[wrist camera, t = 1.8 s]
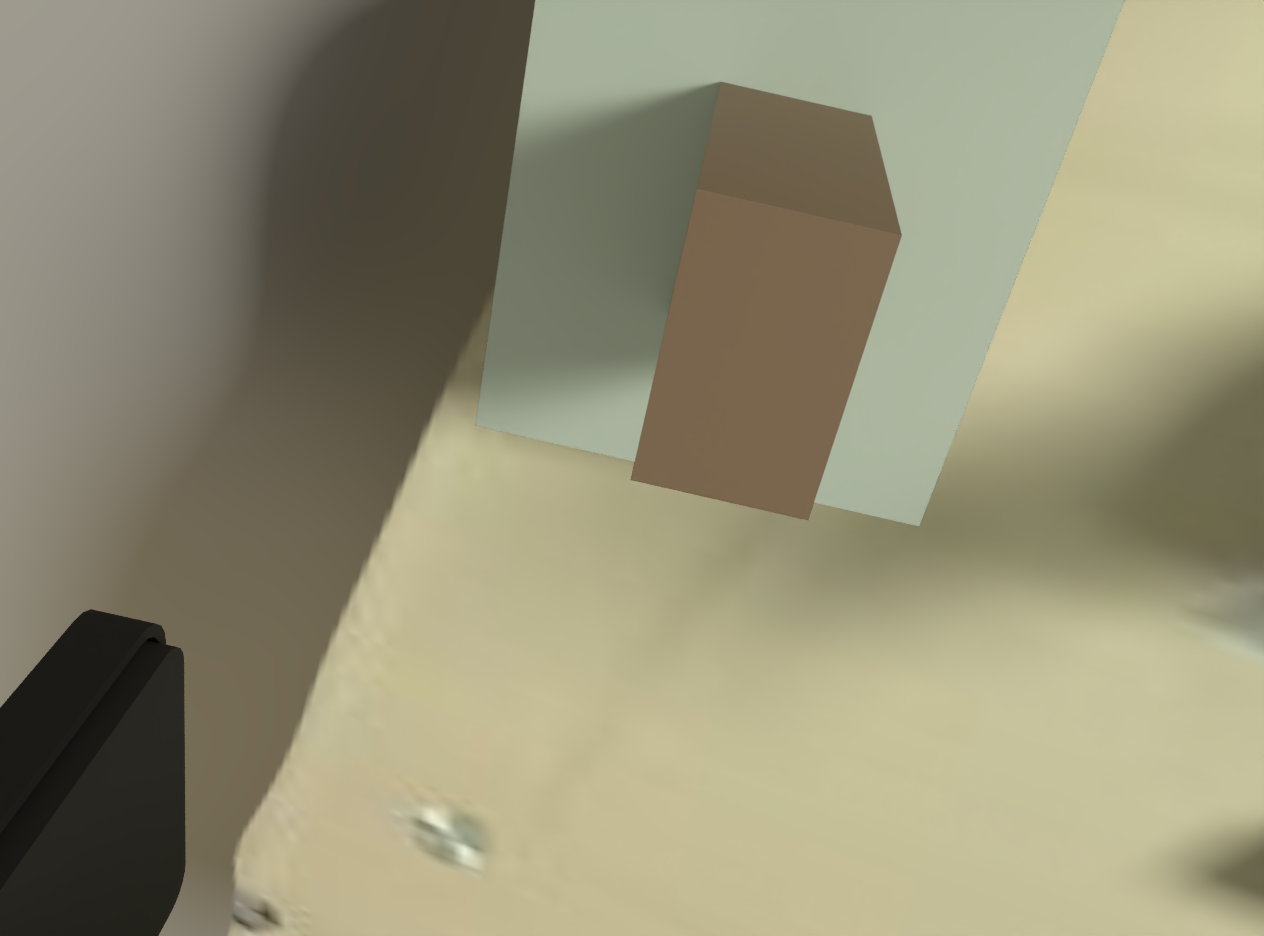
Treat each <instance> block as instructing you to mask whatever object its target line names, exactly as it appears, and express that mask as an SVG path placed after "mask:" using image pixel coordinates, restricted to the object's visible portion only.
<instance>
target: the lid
mask: <svg viewBox="0 0 1264 936" xmlns="http://www.w3.org/2000/svg"><path fill="white" fill-rule="evenodd" d="M1124 1H1125V0H535V7H534V13H533V20H532V28H531V35H530V42H529V49H528V56H527V63H526V70H525V77H524V84H523V91H522V98H521V106H520V113H519V120H518V127H517V135H516V142H515V148H514V155H513V163H512V169H511V177H510V184H509V191H508V198H507V205H506V212H505V220H504V226H503V233H502V240H501V247H500V255H499V262H498V269H497V276H496V283H495V290H494V297H493V304H492V311H491V318H490V325H489V333H488V340H487V347H486V354H485V361H484V368H483V375H482V382H481V389H480V396H479V403H478V411H477V418H476V425H475V426H479V427H483V428H488V429H492V430H497V431H501V432H505V433H510V434H514V435H519V436H523V437H527V438H532V439H536V440H541V441H545V442H549V443H554V444H558V445H563V446H567V447H571V448H576V449H580V450H585V451H589V452H593V453H598V454H602V455H607V456H611V457H615V458H620V459H624V460H629V461H633V462H634V467H633V471H632V476H631V480H633V481H638V482H642V483H647V484H651V485H655V486H660V487H664V488H669V489H673V490H677V491H682V492H686V493H691V494H695V495H699V496H704V497H708V498H713V499H717V500H721V501H726V502H730V503H735V504H739V505H743V506H748V507H752V508H757V509H761V510H765V511H770V512H774V513H779V514H783V515H787V516H792V517H796V518H801V519H805V520H808V519H809V516H810V513H811V510H812V507H813V504H814V503H818V504H822V505H827V506H831V507H836V508H840V509H844V510H849V511H853V512H858V513H862V514H866V515H871V516H875V517H880V518H884V519H888V520H893V521H897V522H902V523H906V524H910V525H915V526H920V523H921V520H922V518H923V515H924V513H925V510H926V508H927V505H928V503H929V500H930V497H931V495H932V492H933V490H934V487H935V485H936V482H937V480H938V477H939V474H940V472H941V469H942V467H943V464H944V462H945V459H946V456H947V454H948V451H949V449H950V446H951V444H952V441H953V439H954V436H955V433H956V431H957V428H958V426H959V423H960V421H961V418H962V416H963V413H964V410H965V408H966V405H967V403H968V400H969V398H970V395H971V393H972V390H973V387H974V385H975V382H976V380H977V377H978V375H979V372H980V369H981V367H982V364H983V362H984V359H985V357H986V354H987V352H988V349H989V346H990V344H991V341H992V339H993V336H994V334H995V331H996V329H997V326H998V323H999V321H1000V318H1001V316H1002V313H1003V311H1004V308H1005V305H1006V303H1007V300H1008V298H1009V295H1010V293H1011V290H1012V288H1013V285H1014V282H1015V280H1016V277H1017V275H1018V272H1019V270H1020V267H1021V265H1022V262H1023V259H1024V257H1025V254H1026V252H1027V249H1028V247H1029V244H1030V241H1031V239H1032V236H1033V234H1034V231H1035V229H1036V226H1037V224H1038V221H1039V218H1040V216H1041V213H1042V211H1043V208H1044V206H1045V203H1046V201H1047V198H1048V195H1049V193H1050V190H1051V188H1052V185H1053V183H1054V180H1055V177H1056V175H1057V172H1058V170H1059V167H1060V165H1061V162H1062V160H1063V157H1064V154H1065V152H1066V149H1067V147H1068V144H1069V142H1070V139H1071V137H1072V134H1073V131H1074V129H1075V126H1076V124H1077V121H1078V119H1079V116H1080V113H1081V111H1082V108H1083V106H1084V103H1085V101H1086V98H1087V96H1088V93H1089V90H1090V88H1091V85H1092V83H1093V80H1094V78H1095V75H1096V73H1097V70H1098V67H1099V65H1100V62H1101V60H1102V57H1103V55H1104V52H1105V49H1106V47H1107V44H1108V42H1109V39H1110V37H1111V34H1112V32H1113V29H1114V26H1115V24H1116V21H1117V19H1118V16H1119V14H1120V11H1121V9H1122V6H1123V3H1124Z"/></svg>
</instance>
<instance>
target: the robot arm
mask: <svg viewBox="0 0 1264 936" xmlns="http://www.w3.org/2000/svg"><path fill="white" fill-rule="evenodd" d="M184 736H185V734H184V657H183V652H182V650H181V648H178V647H174V646H170V645H166V639H165V632H164V630H163V628H162V626H161V625H158V624H155V623H150V622H145V621H141V620H136V619H132V618H128V617H123V616H119V615H114V614H110V613H105V612H100V611H95V610H92V609H91V610H88V611H86V612H83V613H82V614H81V615H80V616H79V617H78V618H77V619H76V620H75V621H74V622H73V623H72V624H71V625H70V626H69V628H68V629H67V630H66V631H65V633H64V634H63V635H62V636H61V637H60V638H59V639H58V641H57V642H56V643H55V644H54V645H53V647H52V648H51V649H50V650H49V651H48V652H47V653H46V655H45V656H44V657H43V658H42V659H41V661H40V662H39V663H38V664H37V665H36V666H35V668H34V669H33V670H32V671H31V672H30V674H29V675H28V676H27V677H26V678H25V680H24V681H23V682H22V683H21V684H20V685H19V686H18V688H17V689H16V690H15V691H14V692H13V693H12V695H11V696H10V697H9V698H8V699H7V701H6V702H5V703H4V704H3V705H2V707H1V708H0V936H158V935H159V933H160V932H161V930H162V928H163V926H164V924H165V922H166V921H167V919H168V917H169V915H170V913H171V911H172V909H173V907H174V905H175V902H176V900H177V897H178V895H179V892H180V889H181V885H182V882H183V877H184V872H185V742H184V741H185V737H184Z"/></svg>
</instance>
